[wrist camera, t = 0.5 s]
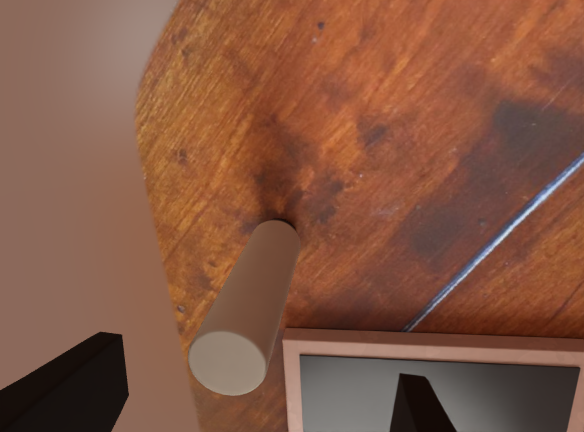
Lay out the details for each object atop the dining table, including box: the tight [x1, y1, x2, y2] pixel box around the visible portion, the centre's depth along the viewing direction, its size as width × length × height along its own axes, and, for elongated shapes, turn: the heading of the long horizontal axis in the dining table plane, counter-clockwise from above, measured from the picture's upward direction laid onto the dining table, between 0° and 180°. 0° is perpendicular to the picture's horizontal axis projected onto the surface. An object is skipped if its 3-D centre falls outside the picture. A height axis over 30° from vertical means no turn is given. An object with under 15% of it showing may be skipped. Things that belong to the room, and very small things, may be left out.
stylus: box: [188, 218, 301, 395], centre depth 16 cm, size 2×2×9 cm
